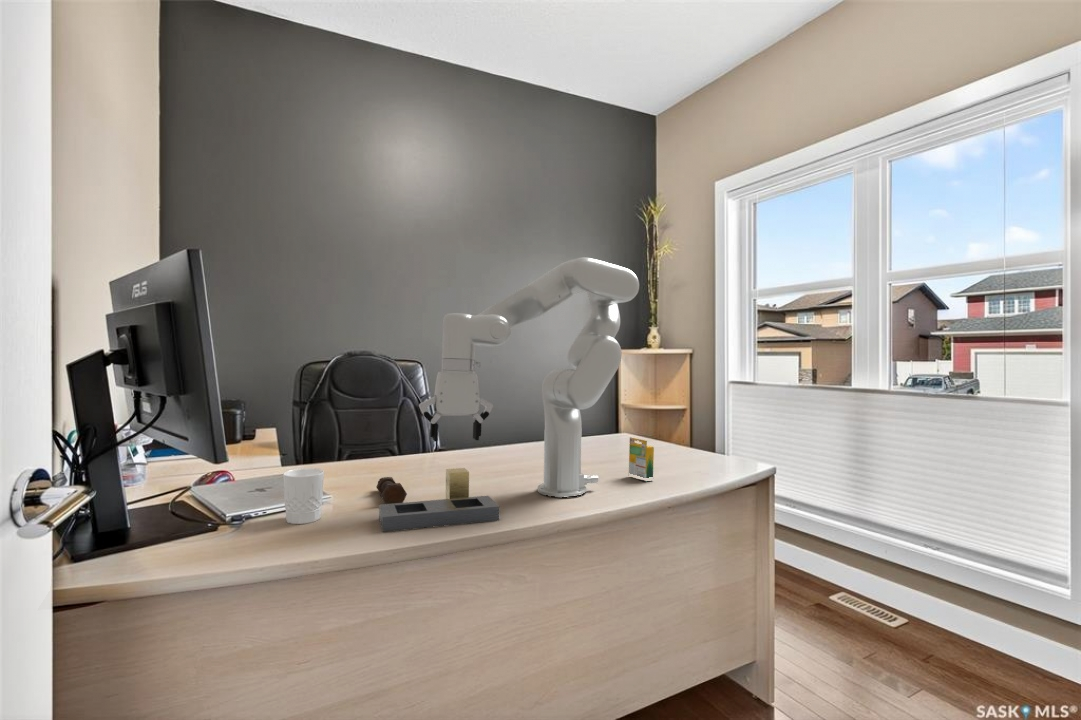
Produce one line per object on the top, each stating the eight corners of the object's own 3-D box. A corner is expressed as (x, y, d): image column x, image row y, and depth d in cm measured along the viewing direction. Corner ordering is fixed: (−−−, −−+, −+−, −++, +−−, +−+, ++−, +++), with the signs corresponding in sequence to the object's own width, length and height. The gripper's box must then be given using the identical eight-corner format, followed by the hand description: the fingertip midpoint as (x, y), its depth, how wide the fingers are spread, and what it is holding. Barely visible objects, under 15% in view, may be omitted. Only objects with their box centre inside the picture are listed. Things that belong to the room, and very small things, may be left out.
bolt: (386, 497, 141) (397, 511, 127) (369, 489, 139) (378, 502, 125) (398, 476, 142) (410, 488, 129) (380, 468, 140) (391, 479, 127)
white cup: (318, 524, 113) (319, 476, 113) (278, 526, 112) (278, 477, 111) (327, 513, 121) (327, 467, 120) (289, 514, 119) (289, 468, 119)
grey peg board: (488, 508, 126) (488, 495, 126) (499, 520, 117) (499, 506, 117) (379, 518, 117) (379, 504, 117) (382, 532, 109) (382, 517, 109)
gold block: (464, 501, 132) (464, 467, 132) (468, 506, 128) (469, 472, 127) (445, 502, 130) (445, 469, 130) (449, 508, 126) (449, 473, 126)
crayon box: (653, 481, 155) (654, 440, 154) (645, 482, 153) (646, 440, 153) (636, 475, 161) (636, 436, 160) (628, 477, 159) (629, 437, 159)
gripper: (489, 366, 135) (487, 436, 135) (418, 365, 128) (415, 438, 129) (498, 368, 128) (495, 441, 128) (423, 366, 121) (420, 443, 122)
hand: (455, 439), depth 128 cm, fingers open, 9 cm apart
